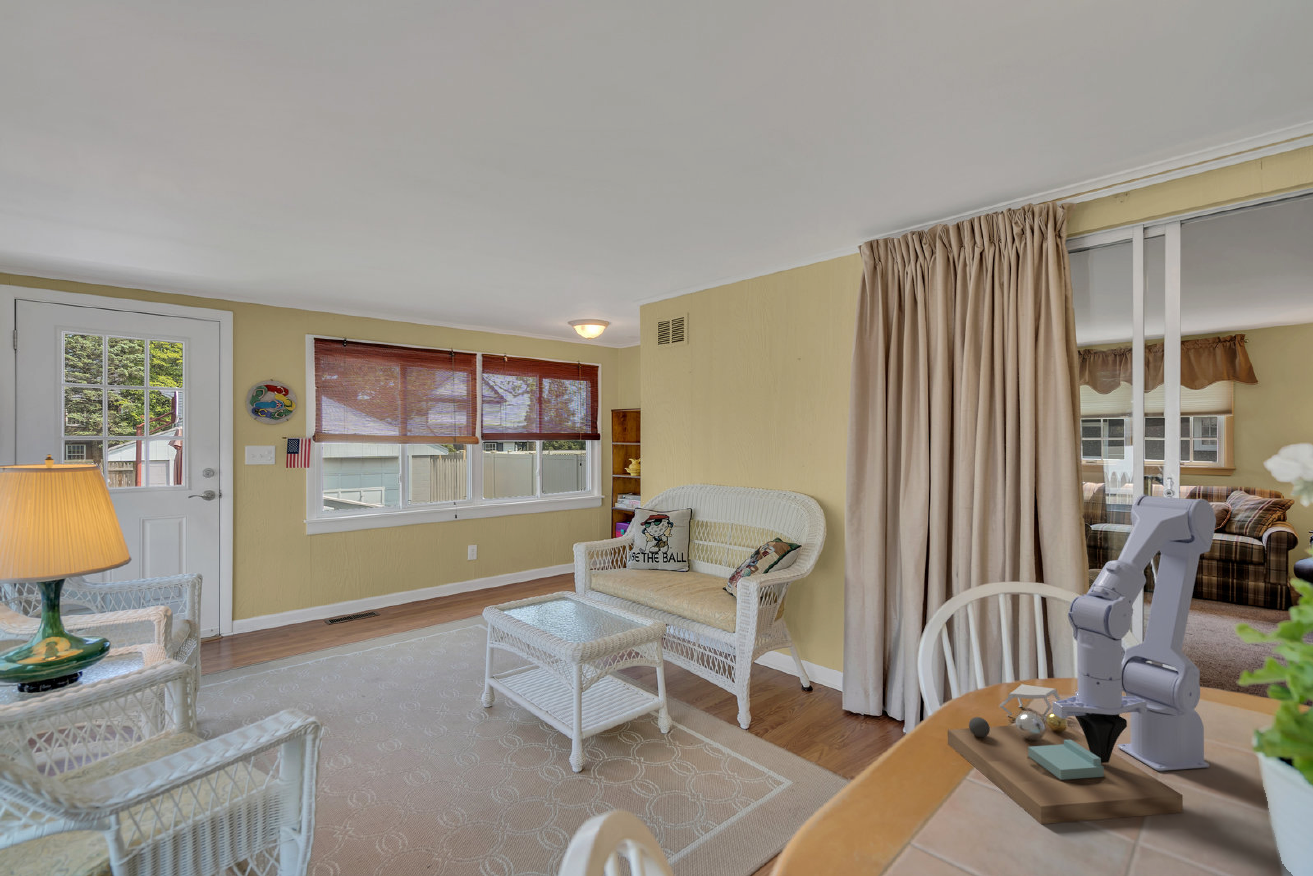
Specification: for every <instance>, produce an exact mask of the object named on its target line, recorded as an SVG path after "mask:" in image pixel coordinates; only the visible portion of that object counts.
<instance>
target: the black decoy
mask: <svg viewBox="0 0 1313 876" xmlns="http://www.w3.org/2000/svg"><path fill="white" fill-rule="evenodd" d="M968 727H969V729H970V731H971V732H972V733H973V734H974V735H975V736H977V737H985V736H987V735H988V734H989V731H990V727H991V726H990V723H988V721H986V719H984V718H983V717H980V716H976V717H973V718H971V719H970V721H969V722H968Z"/></svg>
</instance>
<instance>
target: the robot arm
mask: <svg viewBox="0 0 1313 876" xmlns="http://www.w3.org/2000/svg"><path fill="white" fill-rule="evenodd" d="M1130 518H1131V519H1130V520H1131V524H1132V530H1131V531H1130V533H1129V535H1128V537H1127V540H1126V541H1125V544H1124V545H1123V547H1122V550H1121V552H1120V554H1119V556H1118V559H1116V560H1115V559H1114V560H1109V561H1107V562H1106V563H1105V565H1104V566H1103V567H1102V569H1101V571H1100V572H1099V574H1098V575H1097V577H1096V579H1095V580H1094V581H1093V583H1092V584H1091V586H1090V588H1089V589H1088V591H1087V593H1086V594H1082V595H1079V596H1077V597H1075V598H1073V599H1072V601H1071V603H1070V606H1069V612H1068V613H1067V618H1068V622H1069V623H1070V624H1069V625H1070V626H1071V628H1072V637H1073V640H1075V641H1077V642H1076V646H1077V647H1076V648H1077V651H1076V653H1077V654H1076V655H1077V658H1076V659H1077V661H1076V665H1077V672H1076V673H1077V691H1075V693H1074V695H1073V696H1069V697H1067V698H1064V699H1061V700H1060V701H1058V700H1052V710H1053V714H1055V715H1056V716H1058V717H1060V718H1061V719H1066V720H1067V719H1068V717H1075V719H1076V721H1077V722H1078V724H1079V726H1080V728H1081V730H1082V732H1083V735H1084V736H1085V737H1086V740H1087V743H1088V746H1089V750H1090V752H1091V753H1093V754H1095V755H1096V756H1098V757H1099V758H1101V763H1108V762H1109V760H1110V757H1111V753H1113V749H1114V747H1115V745H1116V743H1117V740H1118V739H1119V737H1120V735H1121V734H1122V733H1123V731H1124V730H1125V729H1126V728H1127V727H1128V721H1127V719H1126V718H1125V717H1122V716H1120V715H1121V714H1126V713H1130V743H1119V744H1117V748H1118V749H1120V750H1122V751H1123V752H1125V753H1127V754H1129V755H1130V756H1132V757H1133V758H1135V759H1136V760H1138V761H1140V762H1142V763H1144V764H1145V765H1147V766H1148V767H1151V768H1152V769H1154V770H1156V771H1159V772H1162V771H1174V770H1176V771H1178V770H1187V769H1200V768H1209V767H1210V764H1209V763H1208V762H1206V761H1205V731H1204V730H1205V728H1204V727H1205V726H1204V723H1203V720H1202V718H1201V716H1200V714H1199V713H1198V712H1197V710H1195V708H1196V707H1198V705H1199V703H1200V698H1201V686H1200V675H1201V673H1200V672H1201V671H1200V670H1201V669H1199V668H1198V666H1197V665H1196V664H1195V663H1194V662H1193V661H1192V660H1191V659H1190V658H1189V657H1188V656H1187V655H1186V654H1185V653H1184V652H1183V647H1184V641H1185V635H1186V630H1187V625H1188V621H1189V620H1188V619H1189V615H1190V614H1189V613H1190V608H1191V604H1192V598H1193V593H1194V586H1195V583H1196V576H1197V572H1198V566H1199V561H1200V555H1202V554H1205V553H1208V552H1210V551H1211V547H1212V545H1213V540H1214V535H1215V529H1216V523H1217V518H1216V515H1215V511H1214V508H1213V506H1212V505H1211V503H1210V502H1209V501H1208V500H1207V499H1204V498H1196V499H1193V498H1180V497H1168V496H1167V497H1166V496H1153V495H1149V494H1140V495H1139V496H1138V497H1137V498H1136V499H1135V500H1134V502H1133V504H1132V506H1131V510H1130ZM1158 552H1160V558H1159V565H1158V569H1157V574H1156V579H1155V584H1154V589H1153V595H1152V599H1151V604H1150V609H1149V610H1150V611H1149V614H1148V615H1149V616H1148V619H1147V626H1146V630H1145V635H1144V639H1143V641H1142V642H1140V643H1137V644H1135V645H1132V646H1130V647H1128V648H1126V649H1125V653H1124V655H1123V654H1122V651H1123V650H1122V649H1123V648H1122V645H1123V644H1122V641H1123V640H1122V639H1123V638H1125V636H1126V635H1127V634H1128V632H1129V631H1130V628H1131V624H1132V623H1131V622H1132V616H1133V614H1134V609H1133V607H1132V606H1133V604H1134V603H1135V601H1137V598H1138V596H1139V595H1140V593H1141V591H1142V590H1143V589H1144V586H1145V585H1146V583H1147V578H1146V576H1145V574H1144V570H1145V569H1146V568H1147V566H1148V565H1149V564H1150V562H1151V561H1152V560H1153V558H1155V556H1156V554H1158ZM1122 655H1123V656H1122ZM1150 662H1155V663H1159V664H1162V665H1164V666H1162V665H1158V664H1154V663H1150ZM1165 666H1169V667H1172V668H1175V669H1172V668H1168V667H1165ZM1123 693H1124V694H1125V696H1124V695H1123ZM1196 709H1197V708H1196Z"/></svg>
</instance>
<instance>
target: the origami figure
mask: <svg viewBox="0 0 1313 876" xmlns="http://www.w3.org/2000/svg"><path fill="white" fill-rule="evenodd" d="M1051 695H1053V697H1054V698H1055V699H1056V701H1060V700H1062V699H1061V697H1060V695H1059V693H1058V690H1057V688H1052V687H1045V686H1038V685H1037V686H1035V685H1028V684H1023V683H1022V682H1021V684H1020V685H1019V686H1018V687H1017V688H1015V689H1014V690H1013V691H1011V692H1009V693H1008V697H1006V698H1005V699H1004V700H1003V701H1002V702H1001V703H1000V704H999V705H998V707H1000V708H1001V709H1002V710H1004V711H1005V712H1006V713H1007V715H1006V717H1010V716H1012V715H1013V712H1011V711H1010V710H1008V709H1007V708H1006V707H1005V705H1006V704H1008V703H1009V702H1010V701H1011V700H1014V699H1015V698H1017V702H1018V704H1019V705H1018V706H1017V707H1018V708H1022V707H1023V706H1024V704H1023V700H1022V699H1024V700H1025V699H1027V700H1032V699H1043V701H1044V702H1045V703H1046V706H1047V708H1046V709H1045V711H1044V713H1043V715H1042V720H1043V721H1046V717H1047V715H1048V714H1047V713H1048V712H1049V711H1050V710H1051V709H1052V708H1053V705H1052V704H1051V703H1050V701H1049V700H1048V699H1047V698H1049V697H1050V696H1051ZM1051 711H1052V712H1053V709H1052V710H1051ZM1052 712H1051V713H1052Z"/></svg>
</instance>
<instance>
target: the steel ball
mask: <svg viewBox="0 0 1313 876" xmlns="http://www.w3.org/2000/svg"><path fill="white" fill-rule="evenodd" d="M1015 725H1016V728H1017V731H1018V732H1019V734H1020V735H1021V736H1023V737H1024V738H1026V739H1028V740H1032V741H1035V740H1039V739H1041V738H1042V737H1043V736H1044V734H1045V724H1044V720H1043V718H1041V717H1040V716H1038V715H1037V714H1035V713H1034V712H1029V711H1027V712H1022V713H1020V714H1018V716H1017V717H1016V719H1015Z"/></svg>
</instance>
